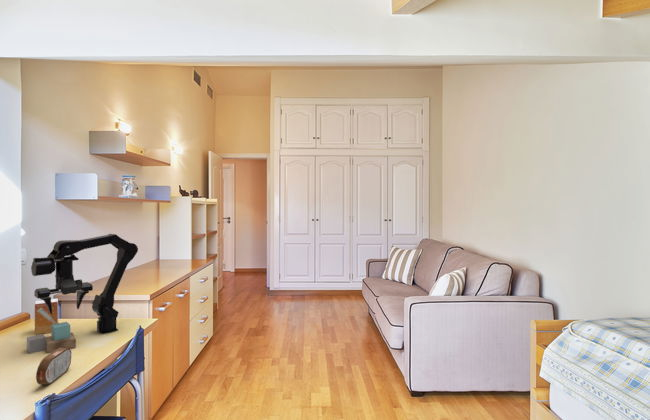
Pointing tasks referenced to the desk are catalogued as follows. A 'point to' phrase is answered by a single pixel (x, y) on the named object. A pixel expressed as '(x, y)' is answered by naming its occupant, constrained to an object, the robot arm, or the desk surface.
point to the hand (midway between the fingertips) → (64, 311)
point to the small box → (45, 316)
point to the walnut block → (60, 343)
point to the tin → (53, 366)
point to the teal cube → (60, 331)
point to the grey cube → (36, 343)
